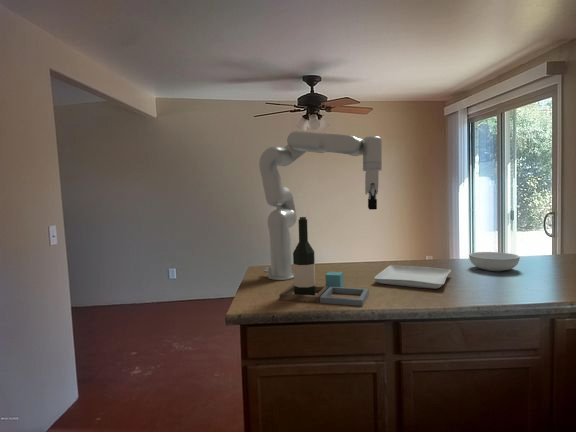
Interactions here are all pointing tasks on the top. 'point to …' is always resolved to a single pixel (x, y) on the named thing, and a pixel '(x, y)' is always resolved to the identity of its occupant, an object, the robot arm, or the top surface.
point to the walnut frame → (307, 298)
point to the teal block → (334, 279)
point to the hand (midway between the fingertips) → (372, 208)
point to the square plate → (413, 276)
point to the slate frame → (345, 301)
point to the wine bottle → (304, 263)
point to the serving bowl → (494, 260)
